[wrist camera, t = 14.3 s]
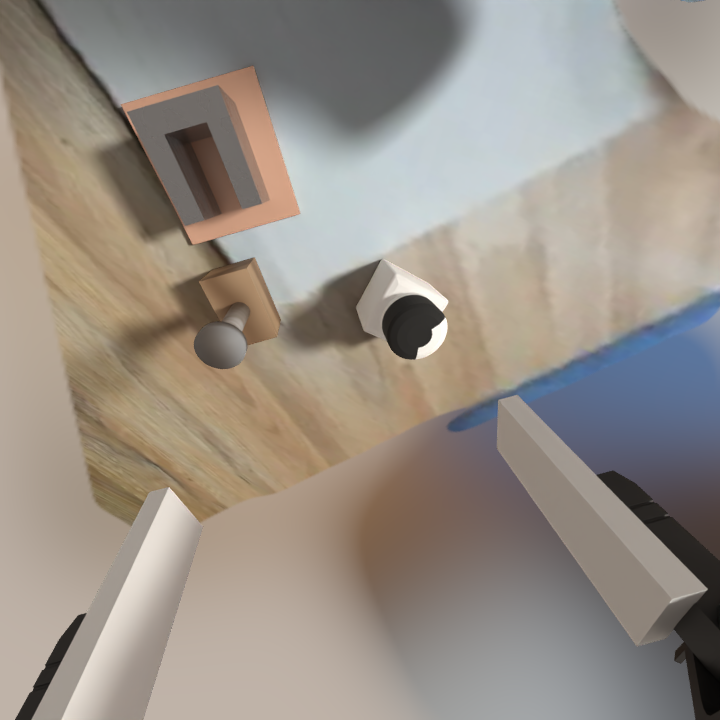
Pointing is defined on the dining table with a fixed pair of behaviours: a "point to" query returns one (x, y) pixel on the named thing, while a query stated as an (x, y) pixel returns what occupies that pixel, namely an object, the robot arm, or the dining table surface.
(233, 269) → the knob on wooden block
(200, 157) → the tile
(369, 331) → the medicine bottle
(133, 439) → the dining table surface
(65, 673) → the robot arm
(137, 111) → the c link
